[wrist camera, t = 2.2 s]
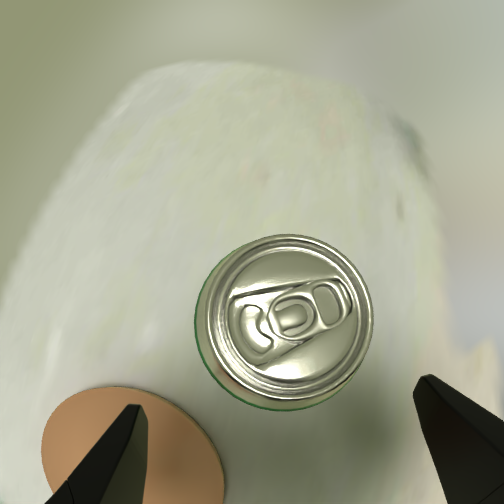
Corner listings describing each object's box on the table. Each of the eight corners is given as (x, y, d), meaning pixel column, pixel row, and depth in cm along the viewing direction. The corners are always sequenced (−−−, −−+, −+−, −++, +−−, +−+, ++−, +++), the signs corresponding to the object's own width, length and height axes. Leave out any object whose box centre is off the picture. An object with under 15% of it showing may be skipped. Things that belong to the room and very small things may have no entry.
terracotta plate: (255, 520, 14) (257, 530, 13) (102, 549, 12) (94, 558, 11) (175, 361, 18) (170, 361, 17) (30, 408, 16) (17, 409, 14)
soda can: (205, 320, 19) (165, 251, 8) (282, 295, 20) (342, 200, 9) (231, 397, 18) (227, 446, 6) (310, 370, 18) (411, 367, 7)
